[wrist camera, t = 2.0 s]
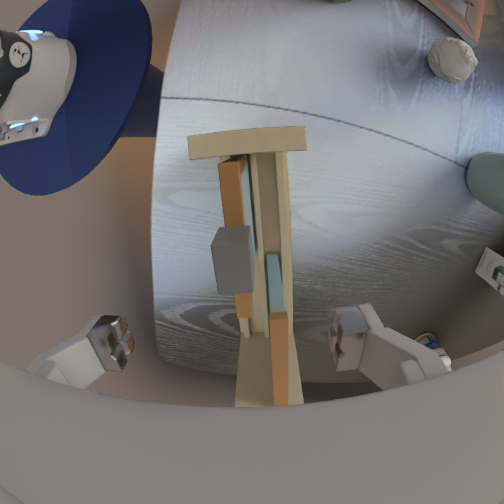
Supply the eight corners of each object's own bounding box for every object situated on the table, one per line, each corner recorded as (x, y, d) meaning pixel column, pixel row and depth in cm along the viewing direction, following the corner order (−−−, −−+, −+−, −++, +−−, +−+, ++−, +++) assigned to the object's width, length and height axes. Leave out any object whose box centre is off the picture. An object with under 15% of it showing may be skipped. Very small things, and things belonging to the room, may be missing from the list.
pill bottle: (426, 353, 40) (448, 389, 31) (404, 356, 40) (424, 395, 31) (437, 330, 38) (463, 366, 29) (414, 332, 38) (440, 372, 29)
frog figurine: (459, 71, 22) (490, 65, 15) (438, 95, 24) (471, 91, 17) (432, 36, 20) (461, 24, 14) (409, 59, 22) (439, 46, 16)
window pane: (241, 251, 31) (227, 346, 17) (231, 155, 27) (200, 169, 12) (259, 250, 31) (259, 345, 16) (250, 153, 27) (241, 164, 12)
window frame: (242, 334, 38) (236, 416, 24) (219, 139, 28) (186, 136, 15) (291, 331, 37) (303, 413, 24) (283, 134, 27) (306, 125, 14)
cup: (452, 187, 28) (501, 206, 19) (468, 138, 25) (517, 146, 16) (481, 209, 29) (525, 231, 20) (495, 165, 26) (540, 178, 17)
